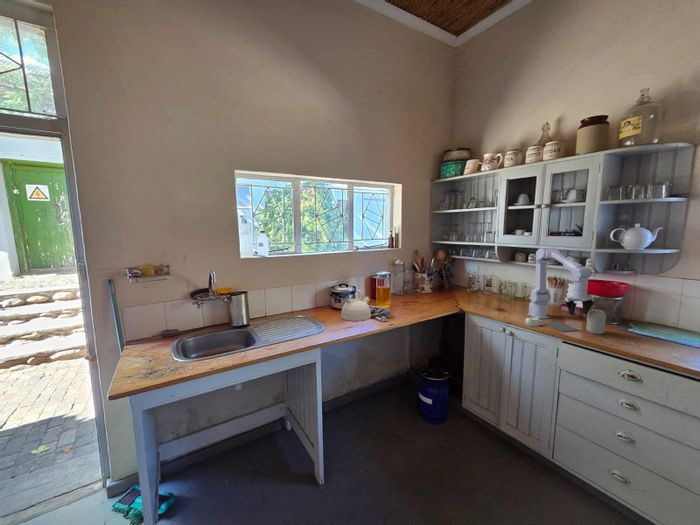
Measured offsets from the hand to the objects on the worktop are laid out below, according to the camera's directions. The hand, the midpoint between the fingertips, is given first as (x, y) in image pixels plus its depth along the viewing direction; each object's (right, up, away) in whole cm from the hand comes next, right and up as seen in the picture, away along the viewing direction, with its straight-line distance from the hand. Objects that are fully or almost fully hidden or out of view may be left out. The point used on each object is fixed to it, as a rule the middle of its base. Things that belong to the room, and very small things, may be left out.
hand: (578, 314), depth 152 cm
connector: (-16, -9, +13) cm, 22 cm away
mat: (-2, -9, +10) cm, 13 cm away
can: (+10, -10, +1) cm, 14 cm away
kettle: (-118, -9, +38) cm, 125 cm away
